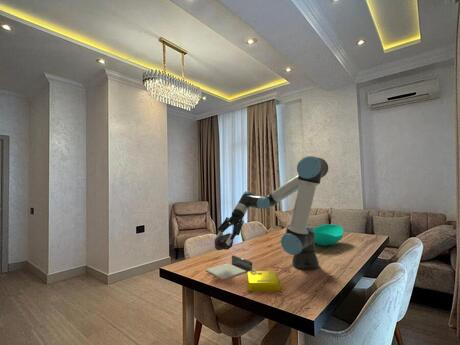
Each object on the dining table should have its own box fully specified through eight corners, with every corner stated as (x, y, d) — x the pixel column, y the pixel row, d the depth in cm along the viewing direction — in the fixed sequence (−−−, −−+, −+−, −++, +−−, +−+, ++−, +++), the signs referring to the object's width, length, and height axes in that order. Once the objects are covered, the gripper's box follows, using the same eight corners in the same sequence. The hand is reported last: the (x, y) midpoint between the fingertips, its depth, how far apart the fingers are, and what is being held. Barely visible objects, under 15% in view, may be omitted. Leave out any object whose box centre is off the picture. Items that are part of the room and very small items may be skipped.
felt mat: (246, 272, 130) (246, 270, 131) (222, 279, 121) (222, 278, 121) (227, 264, 144) (227, 263, 144) (205, 270, 134) (205, 269, 134)
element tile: (247, 292, 107) (247, 281, 107) (246, 279, 122) (246, 269, 122) (280, 292, 106) (280, 281, 107) (275, 279, 121) (275, 269, 122)
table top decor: (320, 237, 208) (319, 222, 209) (352, 243, 187) (351, 226, 188) (293, 245, 183) (293, 228, 184) (327, 253, 162) (326, 234, 163)
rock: (213, 251, 138) (223, 254, 130) (211, 237, 138) (221, 239, 130) (229, 244, 145) (239, 247, 137) (226, 230, 145) (237, 233, 137)
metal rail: (252, 270, 133) (252, 261, 133) (249, 271, 132) (249, 262, 132) (234, 263, 146) (233, 254, 147) (231, 263, 145) (231, 255, 145)
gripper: (255, 217, 141) (238, 249, 129) (230, 214, 156) (212, 243, 144) (249, 209, 137) (231, 242, 125) (224, 207, 153) (205, 236, 141)
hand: (221, 242), depth 135 cm, fingers closed on rock, 9 cm apart
